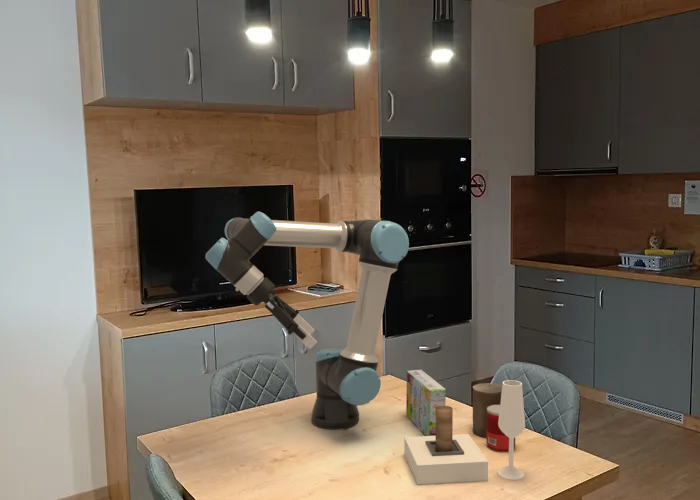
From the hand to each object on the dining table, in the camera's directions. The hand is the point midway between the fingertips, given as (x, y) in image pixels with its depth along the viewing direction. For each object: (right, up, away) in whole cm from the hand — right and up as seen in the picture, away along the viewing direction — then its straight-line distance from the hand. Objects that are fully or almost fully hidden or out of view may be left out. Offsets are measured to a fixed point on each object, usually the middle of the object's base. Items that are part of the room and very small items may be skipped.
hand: (312, 339), depth 178 cm
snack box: (+33, -30, +24) cm, 51 cm away
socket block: (+35, -33, -5) cm, 48 cm away
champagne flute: (+52, -33, -10) cm, 62 cm away
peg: (+35, -33, -5) cm, 48 cm away
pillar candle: (+52, -31, +18) cm, 63 cm away
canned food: (+53, -32, +8) cm, 62 cm away
